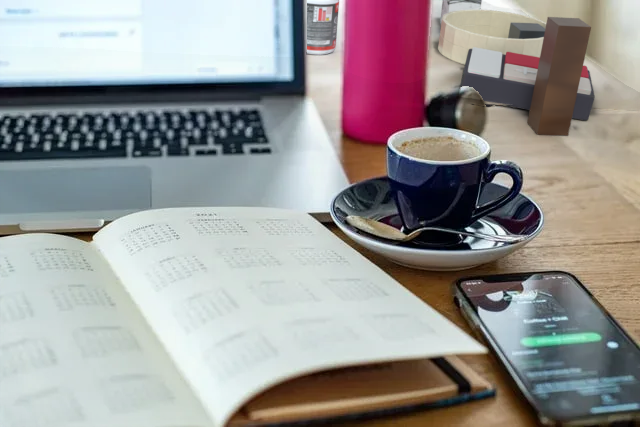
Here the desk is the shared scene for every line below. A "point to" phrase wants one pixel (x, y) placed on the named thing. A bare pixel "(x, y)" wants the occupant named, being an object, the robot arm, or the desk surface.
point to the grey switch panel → (516, 80)
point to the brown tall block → (558, 75)
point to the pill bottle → (322, 26)
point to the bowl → (484, 34)
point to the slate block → (526, 31)
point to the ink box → (459, 6)
